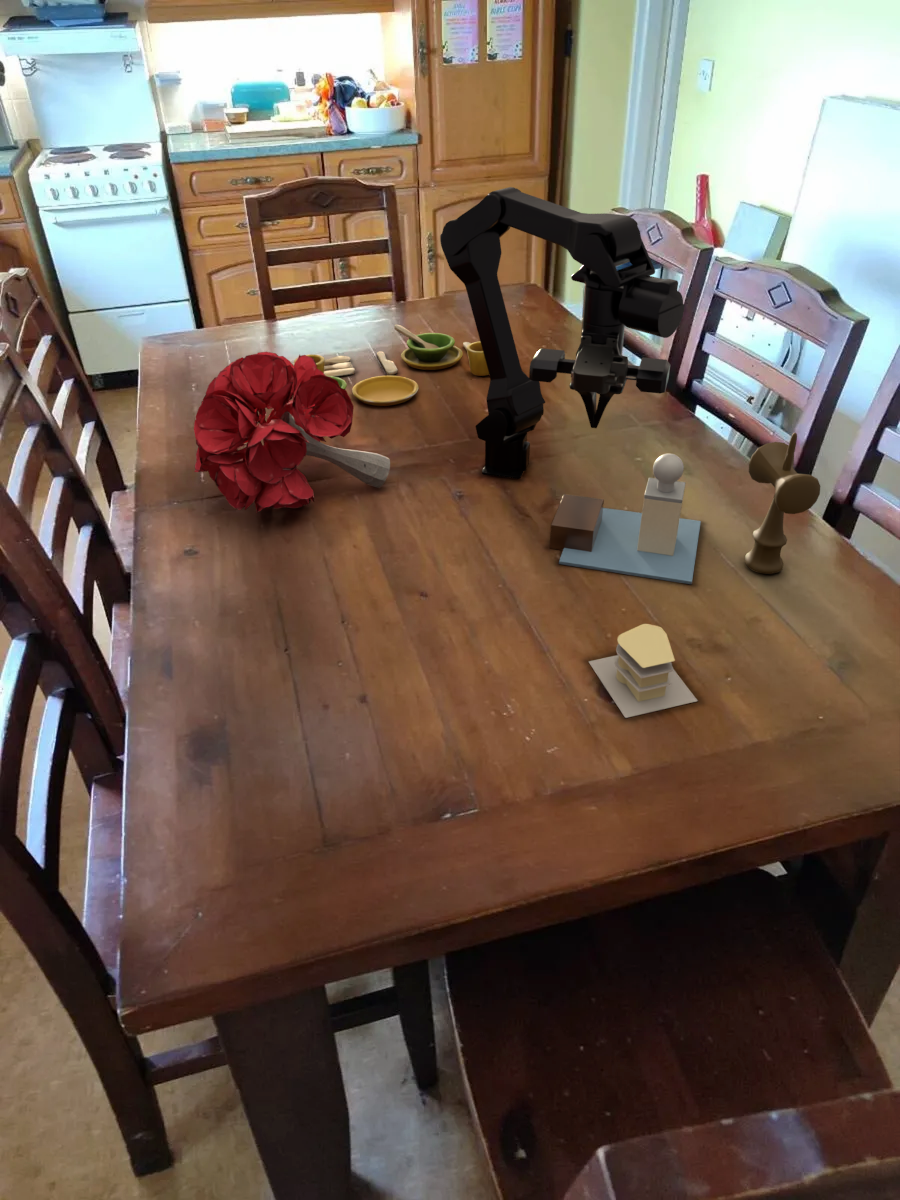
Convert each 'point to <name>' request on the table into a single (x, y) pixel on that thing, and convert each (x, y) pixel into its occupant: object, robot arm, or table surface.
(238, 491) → the bouquet
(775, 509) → the kendama
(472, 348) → the tableware set
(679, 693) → the stacked layers on plate
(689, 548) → the placemat
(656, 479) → the salt mill
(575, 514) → the walnut block
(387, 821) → the table surface
